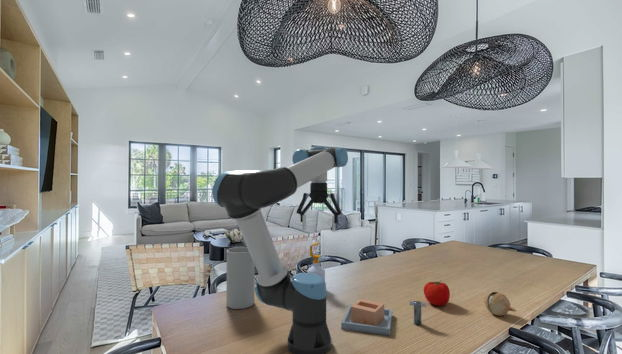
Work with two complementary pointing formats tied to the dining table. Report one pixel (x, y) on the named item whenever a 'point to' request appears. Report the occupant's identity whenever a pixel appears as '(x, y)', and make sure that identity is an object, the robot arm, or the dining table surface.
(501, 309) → the onion
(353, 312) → the ring frame
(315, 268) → the soap bottle
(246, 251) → the cylinder vase
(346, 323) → the tray
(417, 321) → the grey t-shaped piece
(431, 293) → the tomato
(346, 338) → the dining table surface
